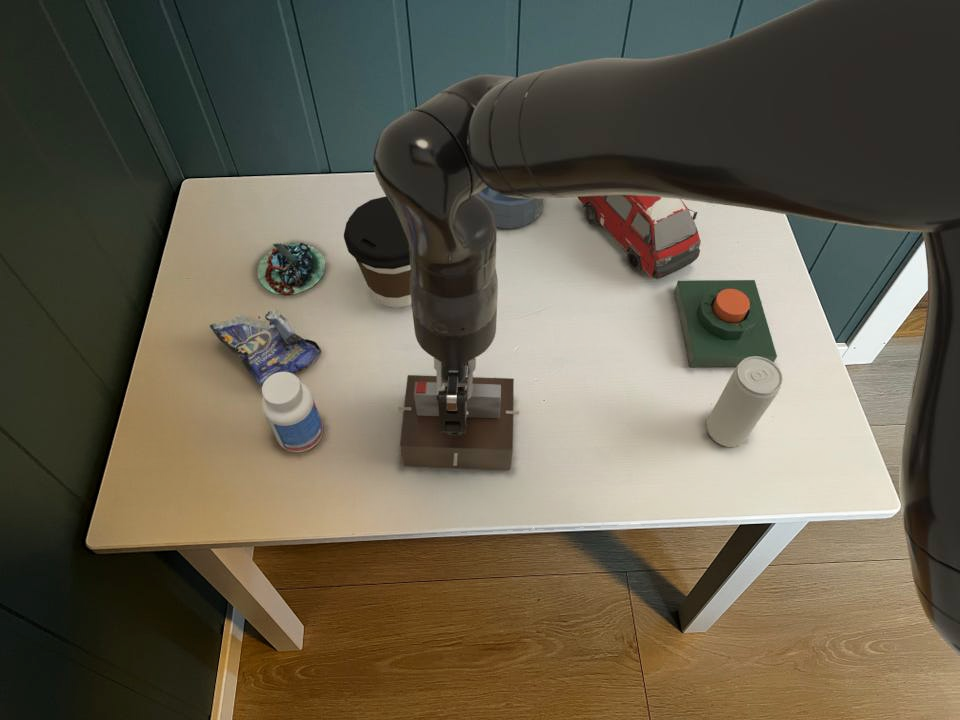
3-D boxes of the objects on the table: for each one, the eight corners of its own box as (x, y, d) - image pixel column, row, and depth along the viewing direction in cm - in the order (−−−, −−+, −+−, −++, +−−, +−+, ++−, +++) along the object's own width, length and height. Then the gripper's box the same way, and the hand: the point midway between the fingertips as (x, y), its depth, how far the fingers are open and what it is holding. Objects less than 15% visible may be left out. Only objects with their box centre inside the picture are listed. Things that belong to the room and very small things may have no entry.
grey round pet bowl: (557, 211, 104) (561, 185, 100) (497, 241, 101) (498, 215, 97) (515, 170, 109) (517, 143, 105) (456, 197, 105) (456, 170, 101)
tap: (499, 406, 80) (500, 383, 76) (499, 418, 79) (500, 396, 75) (418, 403, 80) (415, 380, 76) (416, 415, 80) (413, 393, 76)
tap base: (517, 385, 88) (519, 362, 83) (516, 487, 80) (518, 467, 76) (407, 382, 88) (404, 358, 84) (396, 483, 81) (392, 463, 76)
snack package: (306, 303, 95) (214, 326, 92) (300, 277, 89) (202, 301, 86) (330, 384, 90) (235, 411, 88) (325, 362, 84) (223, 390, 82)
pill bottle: (333, 428, 84) (318, 383, 76) (300, 462, 82) (281, 419, 74) (300, 403, 86) (281, 357, 78) (266, 436, 84) (244, 391, 76)
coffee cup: (402, 337, 92) (393, 275, 82) (338, 296, 95) (322, 231, 85) (456, 284, 96) (454, 218, 86) (393, 246, 100) (384, 180, 90)
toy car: (642, 295, 96) (658, 242, 87) (572, 204, 105) (581, 149, 96) (699, 272, 98) (720, 218, 89) (626, 185, 107) (638, 129, 99)
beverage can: (698, 418, 85) (727, 361, 75) (734, 408, 86) (768, 350, 76) (717, 454, 83) (750, 400, 73) (755, 442, 84) (793, 387, 74)
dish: (329, 270, 94) (276, 239, 91) (301, 313, 96) (248, 284, 94) (331, 249, 101) (282, 220, 98) (305, 290, 103) (256, 262, 101)
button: (748, 323, 89) (753, 314, 87) (716, 323, 88) (720, 314, 87) (741, 297, 91) (746, 288, 89) (709, 297, 91) (713, 288, 89)
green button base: (771, 366, 89) (782, 348, 86) (689, 367, 89) (698, 348, 86) (749, 290, 96) (759, 270, 93) (673, 291, 96) (681, 271, 93)
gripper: (495, 369, 60) (491, 457, 73) (499, 240, 68) (495, 340, 81) (403, 366, 60) (416, 454, 73) (418, 237, 68) (427, 338, 81)
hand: (457, 394), depth 77 cm, fingers open, 8 cm apart
